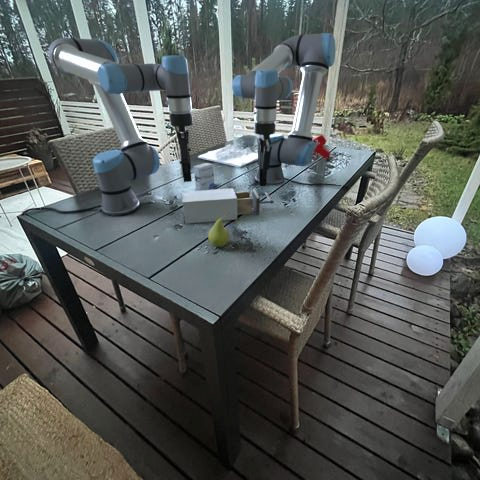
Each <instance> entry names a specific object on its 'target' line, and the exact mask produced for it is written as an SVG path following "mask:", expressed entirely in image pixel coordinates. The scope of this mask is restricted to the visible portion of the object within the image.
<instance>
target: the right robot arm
mask: <svg viewBox="0 0 480 480" xmlns="http://www.w3.org/2000/svg"><path fill="white" fill-rule="evenodd" d="M336 51H337V50H336V39H335V36H334V35H333V34H332V33H330V32H329V33H327V32H322V33H307V34H306V33H305V34H296V35H293V36H291V37H289V38H287V39H285V40H284V41H282V42H280V43H279V44H278V45H276V47H274V49H273V51H272V52H271V54H270V55H269V56H267V57H265V59H263V61H261V62H260V63H259V64H258V65H257V66H255V67H254V68H253V69H251V71H249V72H248V73H246V74H245V75H244V74H240V75H236V76H235V77H234V78H233V80H232V83H231V90H232V94H233V95H234V97H236V98H238V99H250V100H252V99H253V100H254V111H253V112H252V114H253V115H254V121H255V122H254V123H253V132H254V133H253V134H255V135H258V138H256V144H257V154H258V160H257V165H258V167H257V170H256V173H255V177H254V181H255V183H258V186H259V187H266V186H279V185H281V184H283V183H284V181H288V182H291V183H294V184H298V185H302V186H332V187H333V186H334V187H342V186H341V185H336V184H337V183H326V182H325V183H324V182H323V183H322V182H318V183H316V182H315V183H304V182H299V181H295V180H292V179H290V178H286V177H285V175H284V172H283V171H284V170H283V167H282V165H283V164H284V165H285V164H286V165H291V166H295V167H306V166H307V165H309V163H310V162H311V160H312V159H313V156H314V155H313V154H314V153H315V152H314V150H315V142H313V141H312V140H313V139H314V138H313V135H312V134H311V133H312V129H313V124H314V119H315V114H316V109H317V104H318V100H319V95H320V91H321V86H322V81H323V77H324V76H325V75H326V74H327V73H328V70H329V68H330V67H332V66H333V65H334V63H335V60H336ZM291 67H292V68H293V67H300V71H301V73H302V78H301V83H300V88H299V94H298V98H297V104H296V105H297V106H296V109H295V115H294V119H293V125H292V130H291V131H290V132H289V133H288V134H287V138H285V135H284V134H283V133H276V121H277V111H278V110H277V109H278V108H277V106H278V101H284V100H285V99H287V98H289V97H290V96H291V95H292V93H293V89H294V83H293V81H292V79H291V78H290V77H289V76H287V75H284V74H283V75H279V74H280V73H281V72H282V71H284V70H288V69H289V68H291ZM343 185H344V186H343V187H344V188H345V189H347V190H349V187H348V186H347V185H345V184H343Z"/></svg>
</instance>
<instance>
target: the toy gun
mask: <svg viewBox="0 0 480 480" xmlns="http://www.w3.org/2000/svg"><path fill="white" fill-rule="evenodd" d="M312 141H313V142H315V150H314V154H313V156H316V155H318V154H319V155H320V156H321V157H323V160H324V161H325V160H326V159H327V157H328V159H329V158H330V156H331V151H330V150H328V149H327V148H326V147H324V146H325V145H326V143H327V139H326V137H325V136H324V135H323V133H321V134H319V135H318V136H316V137H314V138H313V140H312ZM324 158H326V159H324Z"/></svg>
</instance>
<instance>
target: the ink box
mask: <svg viewBox="0 0 480 480" xmlns="http://www.w3.org/2000/svg"><path fill="white" fill-rule="evenodd" d="M214 172H215V171H214V164H212V163H209V162H205V163H201V164H197V165H194V166H193V173H194V183H195V184H194V185H195V190H196V191H201V190H212V189H214V188H215V174H214Z"/></svg>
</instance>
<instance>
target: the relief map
mask: <svg viewBox="0 0 480 480" xmlns="http://www.w3.org/2000/svg"><path fill="white" fill-rule="evenodd" d="M197 158H198V159H202V160H206V161H210V162H213V163H218V164H223V165H226V166H227V165H228V166H232V167H235V168H236V167H237V168H242V167H245V166H247V165H249V164H252V163H254V162H257V161H258V152H254V151H253V150H252V149H251V148H250V147H245V148H243V149H242V148H239V147H237V145H236V144H234V143H233V144H231V143H229V144H227V145H226V146H223V147H221V148H218V149H216V150H209V151H207V152H206V153H203V154H200V155H198V156H197Z"/></svg>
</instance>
